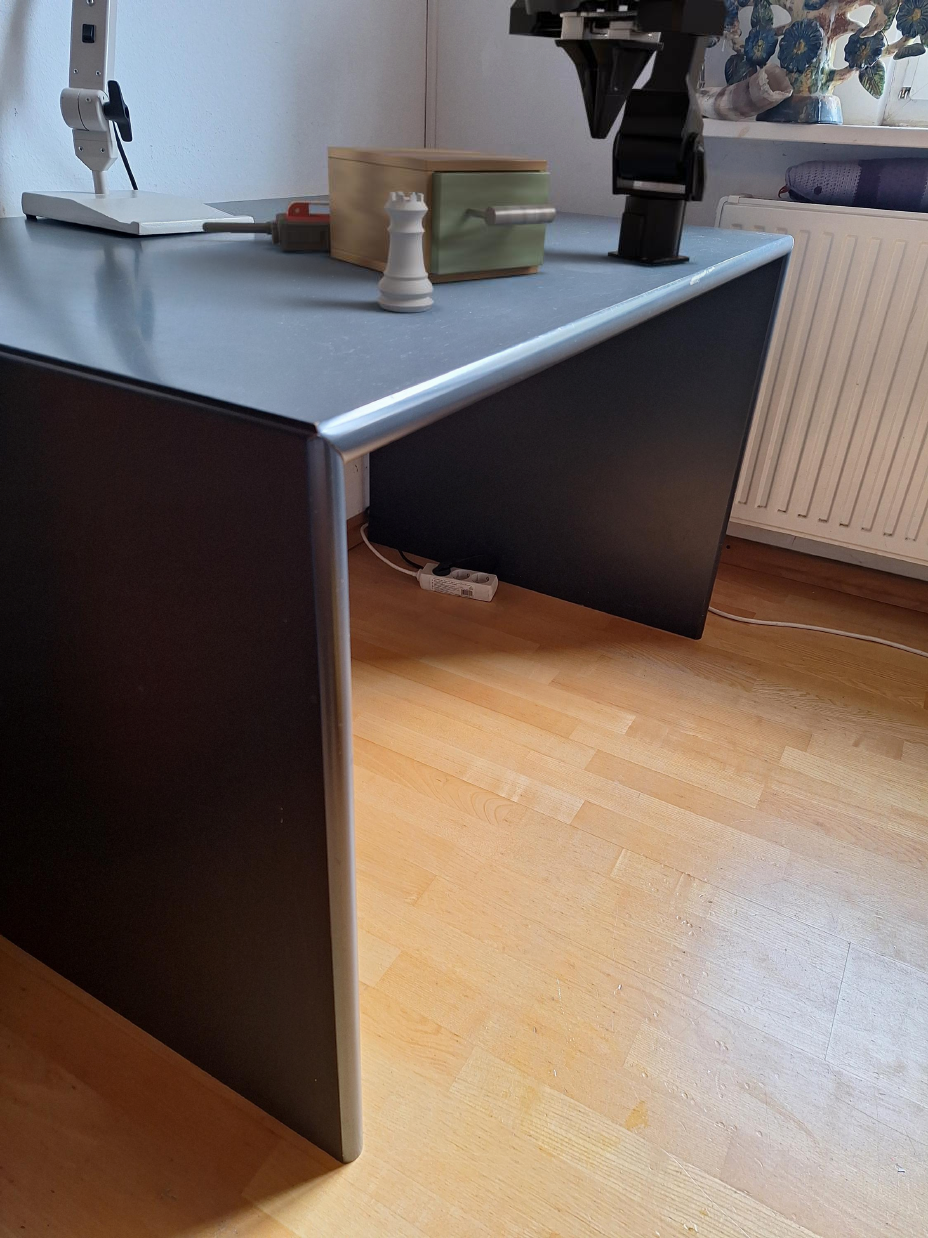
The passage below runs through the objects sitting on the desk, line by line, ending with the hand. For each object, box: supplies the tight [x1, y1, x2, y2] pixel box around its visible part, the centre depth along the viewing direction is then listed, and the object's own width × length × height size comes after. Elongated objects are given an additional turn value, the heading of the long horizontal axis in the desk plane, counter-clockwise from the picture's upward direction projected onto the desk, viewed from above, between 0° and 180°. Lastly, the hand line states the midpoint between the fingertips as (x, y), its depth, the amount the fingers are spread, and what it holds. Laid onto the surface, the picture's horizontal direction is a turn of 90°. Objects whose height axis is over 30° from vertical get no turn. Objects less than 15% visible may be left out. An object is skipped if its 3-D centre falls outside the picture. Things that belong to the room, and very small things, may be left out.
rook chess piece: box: [376, 192, 435, 313], centre depth 65 cm, size 4×4×8 cm
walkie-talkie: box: [201, 199, 331, 253], centre depth 90 cm, size 9×4×20 cm
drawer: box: [431, 171, 557, 275], centre depth 80 cm, size 18×12×8 cm
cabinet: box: [326, 146, 548, 284], centre depth 82 cm, size 16×14×10 cm
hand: (598, 138), depth 74 cm, fingers closed
